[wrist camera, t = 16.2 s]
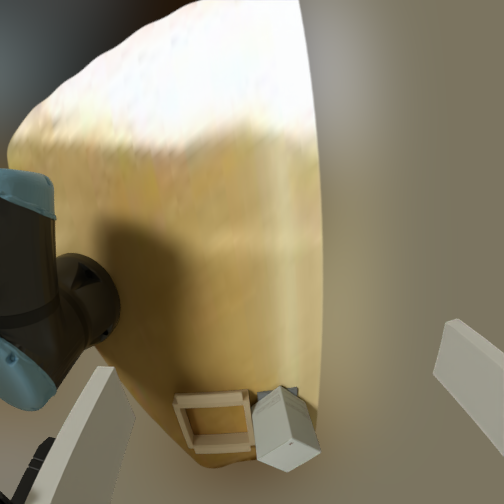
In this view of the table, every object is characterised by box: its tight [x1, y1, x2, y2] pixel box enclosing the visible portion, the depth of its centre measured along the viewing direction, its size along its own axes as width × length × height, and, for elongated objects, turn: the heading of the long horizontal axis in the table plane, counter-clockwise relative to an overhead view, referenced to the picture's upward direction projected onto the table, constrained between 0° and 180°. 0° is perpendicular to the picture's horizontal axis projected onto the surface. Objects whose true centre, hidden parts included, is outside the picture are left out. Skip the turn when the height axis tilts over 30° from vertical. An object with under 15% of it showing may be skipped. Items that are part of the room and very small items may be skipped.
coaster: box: [257, 387, 297, 401], centre depth 49 cm, size 7×7×1 cm
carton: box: [172, 389, 255, 454], centre depth 47 cm, size 13×17×3 cm
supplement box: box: [251, 386, 321, 472], centre depth 42 cm, size 7×7×13 cm
